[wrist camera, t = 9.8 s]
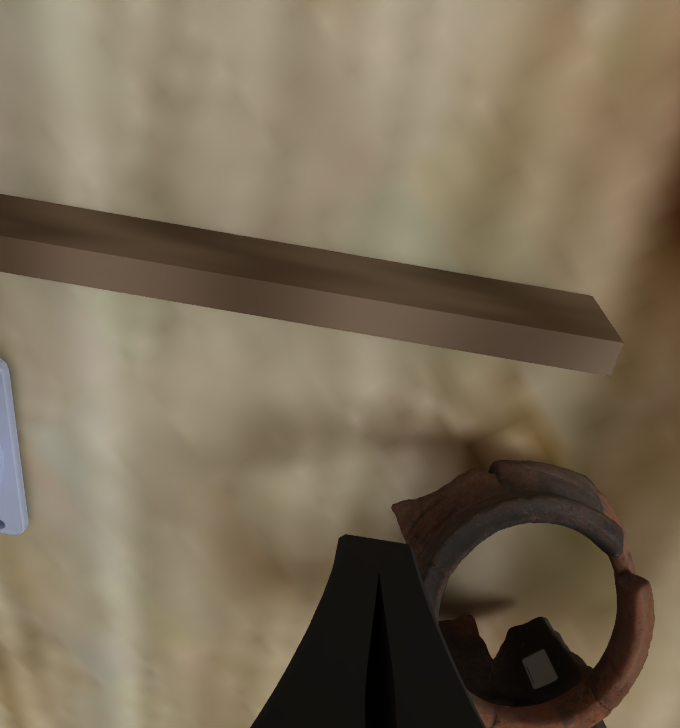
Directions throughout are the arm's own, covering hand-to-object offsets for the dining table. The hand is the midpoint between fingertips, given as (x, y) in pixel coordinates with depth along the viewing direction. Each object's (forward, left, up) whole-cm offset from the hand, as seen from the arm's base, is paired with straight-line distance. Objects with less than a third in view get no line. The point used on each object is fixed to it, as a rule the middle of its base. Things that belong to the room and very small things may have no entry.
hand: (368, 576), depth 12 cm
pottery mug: (+6, -8, -10) cm, 14 cm away
